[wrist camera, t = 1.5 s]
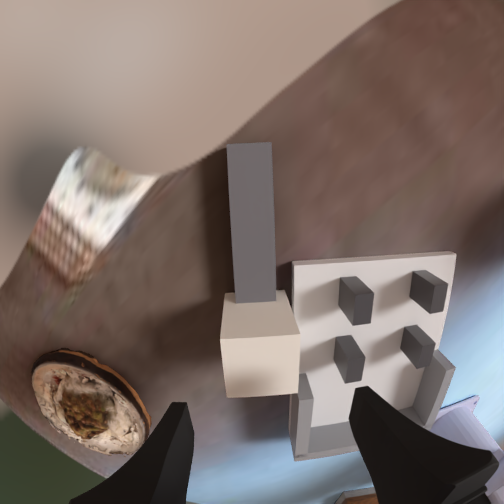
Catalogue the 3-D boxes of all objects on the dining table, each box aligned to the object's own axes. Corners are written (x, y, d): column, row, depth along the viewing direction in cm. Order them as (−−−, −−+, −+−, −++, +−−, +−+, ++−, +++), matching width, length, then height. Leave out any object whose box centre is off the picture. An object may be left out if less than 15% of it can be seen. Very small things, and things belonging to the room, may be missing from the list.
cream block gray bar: (284, 340, 22) (297, 393, 16) (229, 343, 21) (226, 397, 16) (280, 144, 18) (298, 133, 12) (215, 147, 18) (204, 136, 12)
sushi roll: (32, 303, 21) (5, 324, 17) (186, 380, 23) (178, 415, 19) (29, 405, 24) (14, 427, 20) (146, 463, 26) (139, 491, 22)
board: (413, 404, 24) (430, 429, 21) (288, 428, 24) (294, 461, 20) (449, 250, 20) (480, 265, 16) (291, 261, 20) (303, 282, 16)
